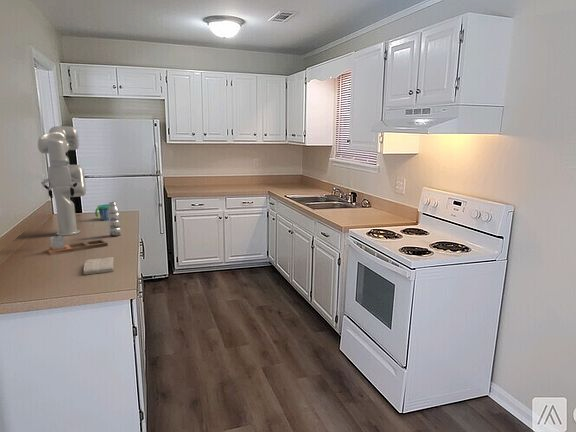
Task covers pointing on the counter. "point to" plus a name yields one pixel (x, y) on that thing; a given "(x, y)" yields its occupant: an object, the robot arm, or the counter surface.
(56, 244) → the steel plug
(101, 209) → the snack cup
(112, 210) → the plastic bottle
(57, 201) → the robot arm
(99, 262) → the washcloth
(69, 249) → the rail
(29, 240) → the counter surface
